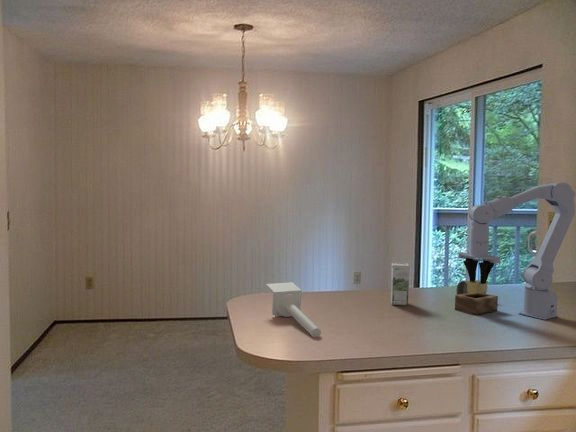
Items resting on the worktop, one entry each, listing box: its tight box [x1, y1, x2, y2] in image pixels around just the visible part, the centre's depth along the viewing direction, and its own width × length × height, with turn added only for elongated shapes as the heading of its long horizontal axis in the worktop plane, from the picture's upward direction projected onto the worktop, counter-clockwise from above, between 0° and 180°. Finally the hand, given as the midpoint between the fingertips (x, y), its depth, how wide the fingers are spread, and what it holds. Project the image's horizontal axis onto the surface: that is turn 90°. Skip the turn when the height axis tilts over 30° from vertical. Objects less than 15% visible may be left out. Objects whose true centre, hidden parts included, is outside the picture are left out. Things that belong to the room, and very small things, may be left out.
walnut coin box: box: [454, 292, 499, 316], centre depth 188 cm, size 11×9×5 cm
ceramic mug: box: [455, 279, 487, 295], centre depth 204 cm, size 11×8×8 cm
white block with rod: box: [265, 281, 322, 338], centre depth 169 cm, size 9×9×32 cm
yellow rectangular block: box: [467, 279, 488, 294], centre depth 182 cm, size 6×4×3 cm, turn 127°
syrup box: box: [390, 262, 410, 307], centre depth 195 cm, size 6×6×14 cm
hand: (478, 282), depth 183 cm, fingers closed on yellow rectangular block, 3 cm apart
